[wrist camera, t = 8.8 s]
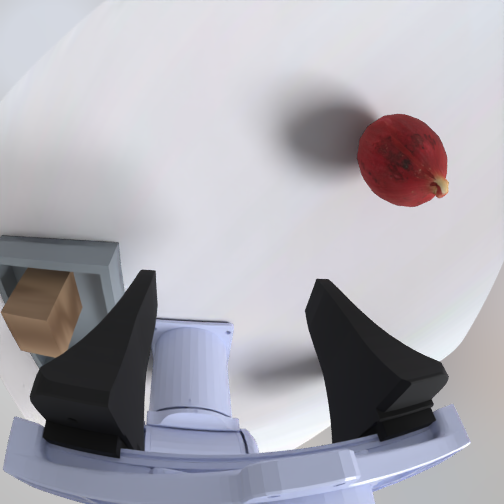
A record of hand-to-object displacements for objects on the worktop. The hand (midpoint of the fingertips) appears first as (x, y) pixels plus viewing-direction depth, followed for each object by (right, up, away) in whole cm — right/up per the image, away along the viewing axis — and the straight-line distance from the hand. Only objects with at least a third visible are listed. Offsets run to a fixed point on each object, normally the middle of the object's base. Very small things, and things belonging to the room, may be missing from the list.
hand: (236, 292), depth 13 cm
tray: (-17, -4, +12) cm, 21 cm away
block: (-17, -1, +9) cm, 19 cm away
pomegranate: (+10, +10, +6) cm, 15 cm away
